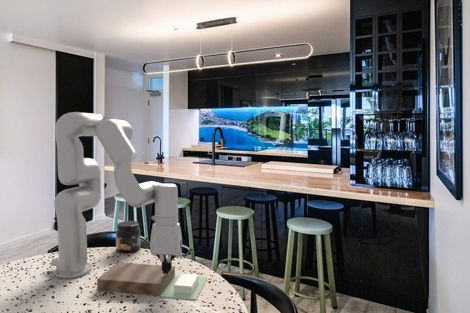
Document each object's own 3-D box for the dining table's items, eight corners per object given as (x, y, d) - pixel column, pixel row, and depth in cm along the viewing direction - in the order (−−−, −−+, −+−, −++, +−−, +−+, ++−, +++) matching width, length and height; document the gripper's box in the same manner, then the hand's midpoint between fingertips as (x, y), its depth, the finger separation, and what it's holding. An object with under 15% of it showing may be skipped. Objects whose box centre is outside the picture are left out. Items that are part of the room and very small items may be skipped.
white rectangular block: (191, 286, 103) (191, 293, 103) (198, 274, 112) (198, 281, 112) (173, 285, 104) (173, 292, 104) (182, 273, 113) (182, 280, 113)
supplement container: (110, 252, 139) (110, 225, 138) (125, 244, 149) (125, 219, 148) (131, 255, 136) (131, 228, 135) (145, 247, 146) (145, 221, 145)
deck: (97, 290, 105) (97, 279, 105) (118, 272, 119) (118, 262, 118) (160, 296, 102) (160, 284, 102) (174, 277, 116) (174, 266, 115)
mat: (160, 297, 101) (160, 296, 101) (175, 276, 116) (175, 275, 116) (196, 300, 100) (196, 299, 100) (206, 278, 115) (206, 278, 115)
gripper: (140, 221, 105) (141, 275, 106) (184, 224, 103) (184, 278, 104) (150, 216, 112) (150, 266, 113) (190, 218, 110) (190, 269, 111)
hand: (166, 272), depth 109 cm, fingers closed
